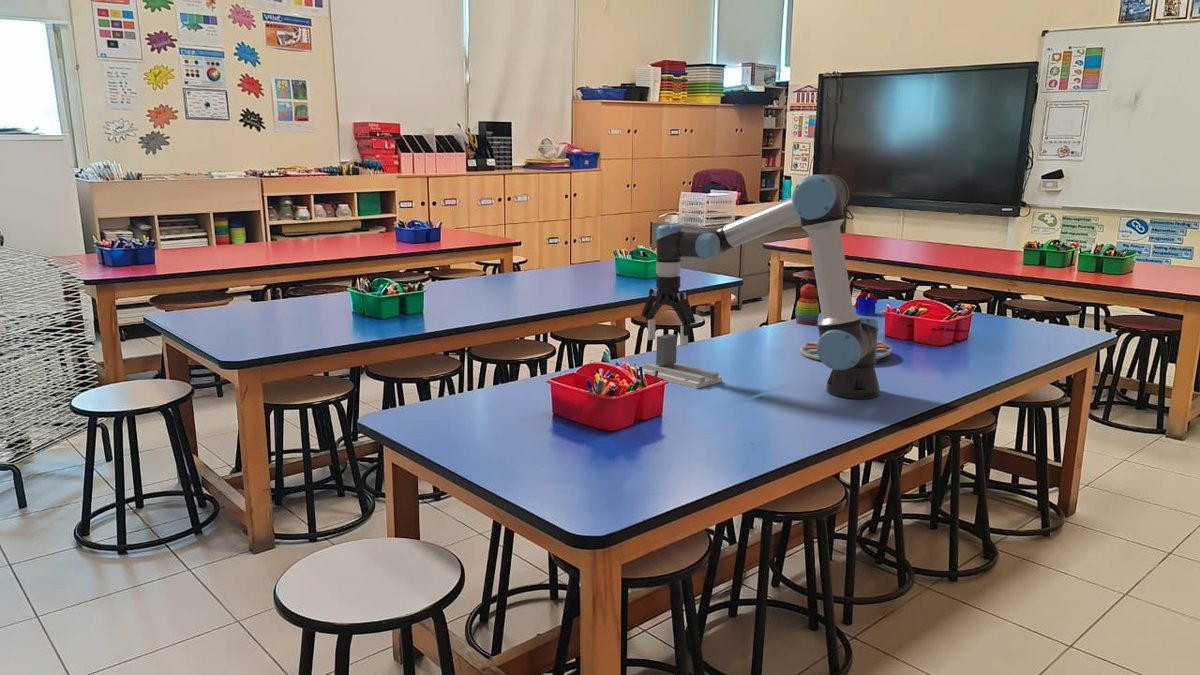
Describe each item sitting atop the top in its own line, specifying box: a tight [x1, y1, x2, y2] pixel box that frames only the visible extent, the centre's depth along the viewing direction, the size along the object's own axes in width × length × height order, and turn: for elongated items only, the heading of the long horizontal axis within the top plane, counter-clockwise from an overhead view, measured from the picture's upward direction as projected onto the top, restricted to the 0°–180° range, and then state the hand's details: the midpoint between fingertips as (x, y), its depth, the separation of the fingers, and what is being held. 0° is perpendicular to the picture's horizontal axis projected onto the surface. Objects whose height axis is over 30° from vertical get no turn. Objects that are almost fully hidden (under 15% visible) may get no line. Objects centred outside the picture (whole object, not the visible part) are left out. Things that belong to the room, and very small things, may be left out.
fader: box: [655, 333, 678, 369], centre depth 273 cm, size 3×6×11 cm, turn 134°
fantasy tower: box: [854, 291, 878, 317], centre depth 367 cm, size 12×12×12 cm
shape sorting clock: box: [799, 339, 893, 365], centre depth 301 cm, size 31×30×6 cm
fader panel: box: [642, 362, 723, 389], centre depth 270 cm, size 23×12×3 cm, turn 44°
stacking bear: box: [794, 282, 820, 327], centre depth 349 cm, size 11×10×18 cm
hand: (667, 342), depth 272 cm, fingers open, 13 cm apart
